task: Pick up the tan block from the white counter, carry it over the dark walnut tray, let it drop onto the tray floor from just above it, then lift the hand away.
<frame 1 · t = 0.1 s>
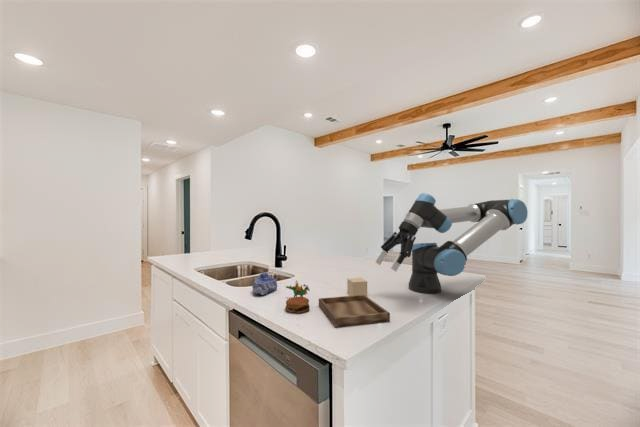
hand: (384, 266, 115), 15 cm above the counter, tool tilted 35°, fingers open, 13 cm apart
tan block: (357, 295, 126), on the counter
figurine: (297, 299, 120), on the counter
mineral: (263, 293, 130), on the counter
tray: (351, 313, 103), on the counter
burger: (297, 310, 107), on the counter
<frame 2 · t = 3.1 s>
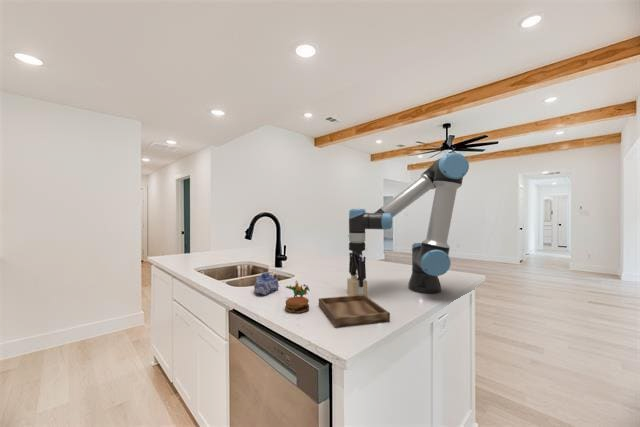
hand: (357, 291, 126), 2 cm above the counter, tool pointing down, fingers closed on tan block, 7 cm apart
tan block: (357, 294, 126), on the counter, touching gripper
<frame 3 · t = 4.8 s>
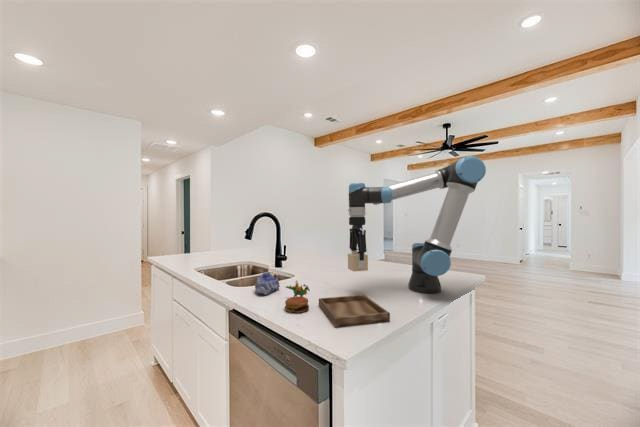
hand: (357, 265, 126), 13 cm above the counter, tool pointing down, fingers closed on tan block, 7 cm apart
tan block: (357, 269, 126), point 12 cm above the counter, touching gripper
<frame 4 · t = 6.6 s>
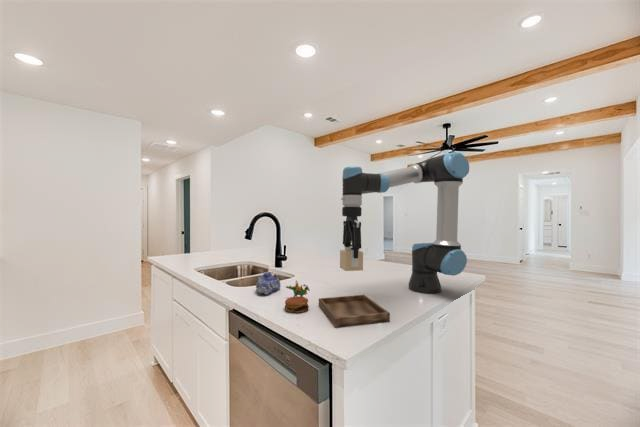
hand: (351, 264, 106), 18 cm above the counter, tool pointing down, fingers closed on tan block, 7 cm apart
tan block: (351, 268, 106), point 16 cm above the counter, touching gripper
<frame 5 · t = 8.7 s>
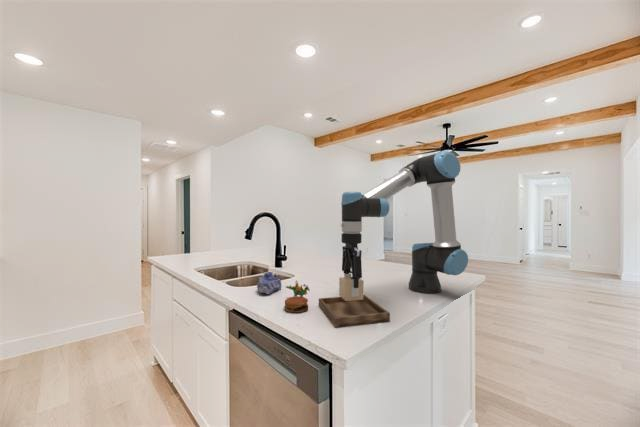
hand: (351, 293, 103), 8 cm above the counter, tool pointing down, fingers closed on tan block, 7 cm apart
tan block: (351, 297, 103), point 6 cm above the counter, touching gripper
when the fingers open (4 cm above the counter, at t = 10.2 s): tan block drops 1 cm, resting on tray.
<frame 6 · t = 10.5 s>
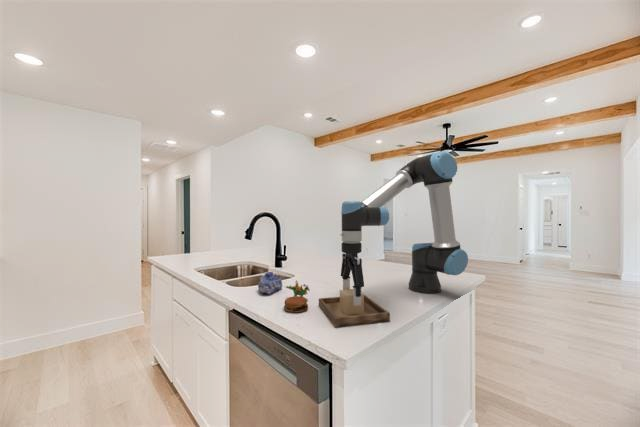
hand: (351, 300, 103), 5 cm above the counter, tool pointing down, fingers open, 10 cm apart
tan block: (351, 310, 103), point 1 cm above the counter, touching tray
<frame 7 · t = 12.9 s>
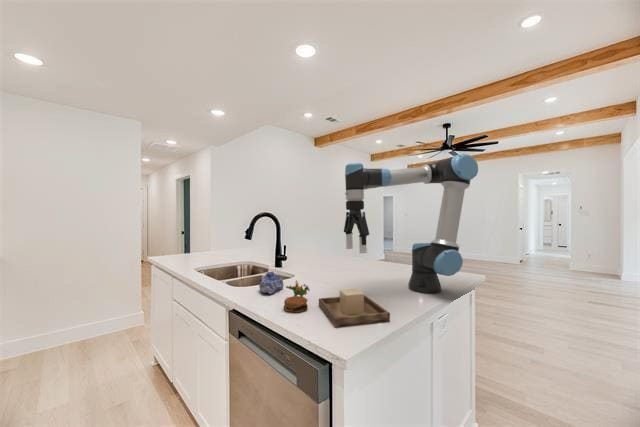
hand: (355, 250, 114), 22 cm above the counter, tool pointing down, fingers open, 13 cm apart
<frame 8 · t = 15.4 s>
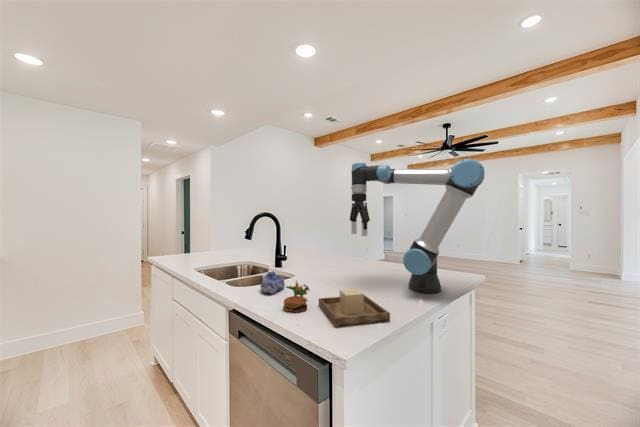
hand: (358, 234, 139), 27 cm above the counter, tool pointing down, fingers open, 13 cm apart
at the end: tan block inside the target area on the tray (0.0 cm from its centre), point 1.0 cm above the tray's base; the gripper is holding nothing; tan block tilted 0° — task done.
